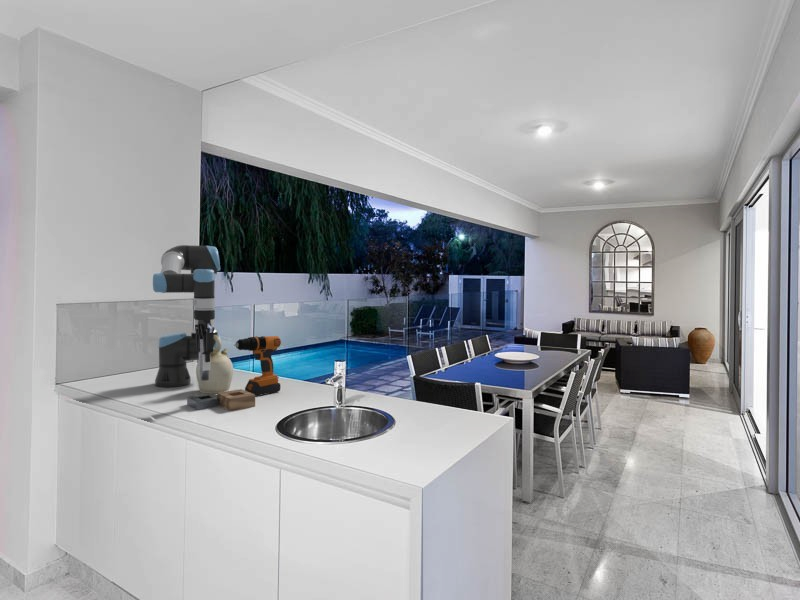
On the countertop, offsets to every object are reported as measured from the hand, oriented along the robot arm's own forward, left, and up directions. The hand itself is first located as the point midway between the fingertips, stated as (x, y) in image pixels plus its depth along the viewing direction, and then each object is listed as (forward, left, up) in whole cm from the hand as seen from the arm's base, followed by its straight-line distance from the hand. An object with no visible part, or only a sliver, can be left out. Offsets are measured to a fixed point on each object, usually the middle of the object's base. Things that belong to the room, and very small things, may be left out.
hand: (204, 369), depth 190 cm
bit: (0, 0, -4) cm, 4 cm away
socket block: (0, 0, -15) cm, 15 cm away
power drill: (-5, +25, -15) cm, 29 cm away
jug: (-22, +13, -15) cm, 29 cm away
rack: (+8, +9, -15) cm, 19 cm away
